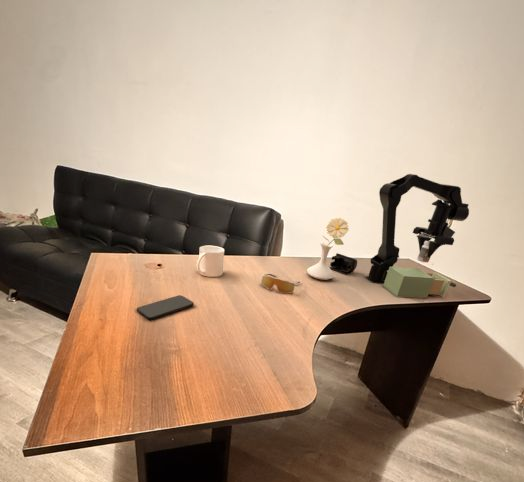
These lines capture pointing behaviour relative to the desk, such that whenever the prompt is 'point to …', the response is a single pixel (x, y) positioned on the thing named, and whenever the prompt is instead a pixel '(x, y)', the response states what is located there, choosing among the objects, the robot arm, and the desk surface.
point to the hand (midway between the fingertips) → (424, 255)
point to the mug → (210, 261)
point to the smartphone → (164, 307)
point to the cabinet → (408, 282)
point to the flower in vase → (335, 230)
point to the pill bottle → (424, 252)
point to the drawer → (440, 284)
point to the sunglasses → (278, 284)
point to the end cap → (343, 264)
